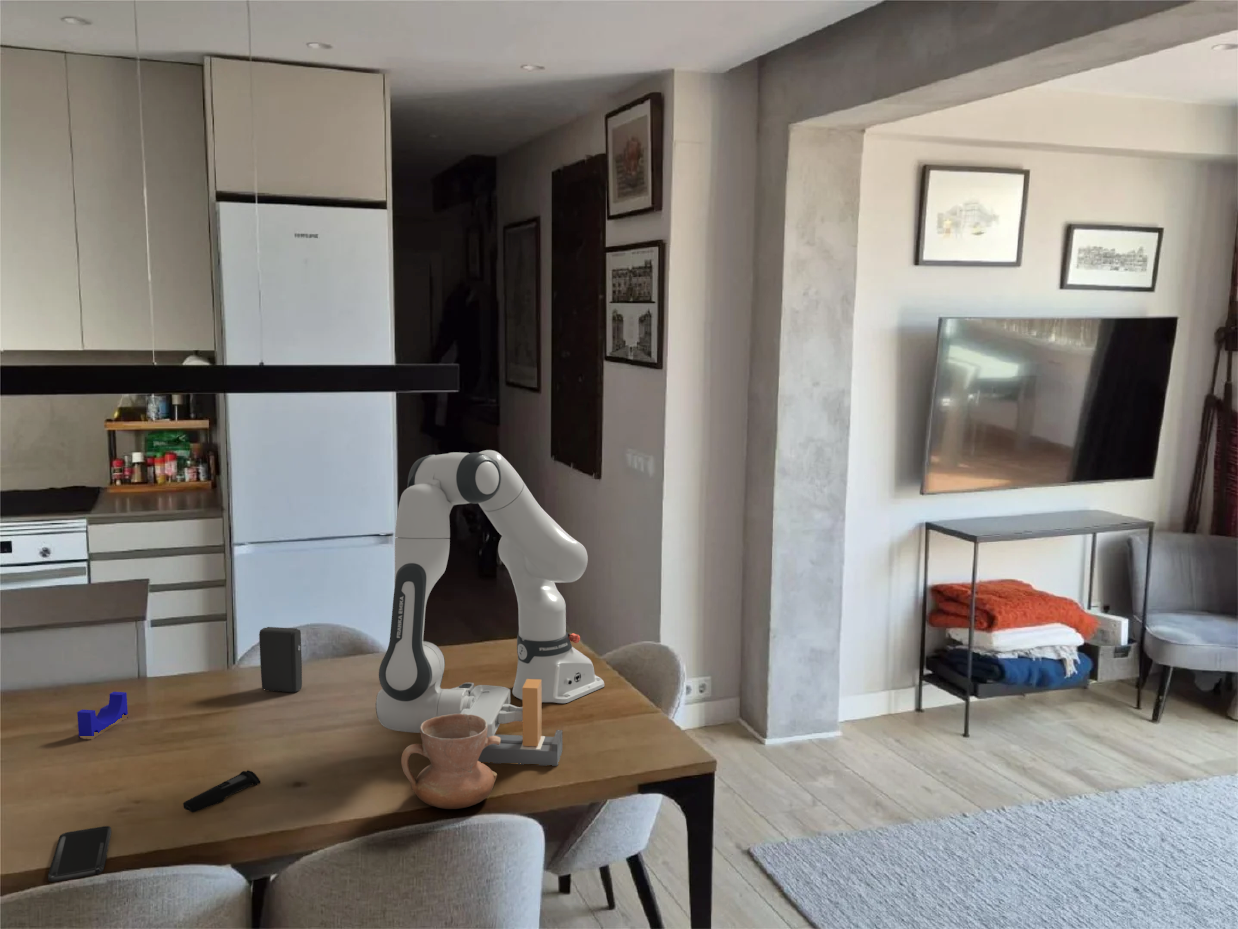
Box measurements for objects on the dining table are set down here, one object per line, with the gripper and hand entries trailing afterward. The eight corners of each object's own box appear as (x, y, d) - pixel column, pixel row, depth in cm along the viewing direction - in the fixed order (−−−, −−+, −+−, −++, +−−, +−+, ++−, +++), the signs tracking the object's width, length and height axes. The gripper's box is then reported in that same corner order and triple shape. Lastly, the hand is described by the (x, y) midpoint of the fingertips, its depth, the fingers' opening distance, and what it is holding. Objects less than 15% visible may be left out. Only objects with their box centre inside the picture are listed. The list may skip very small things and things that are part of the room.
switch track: (458, 761, 201) (457, 740, 200) (466, 747, 208) (466, 726, 207) (557, 766, 199) (557, 744, 199) (562, 751, 206) (562, 730, 206)
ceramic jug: (496, 777, 194) (495, 706, 192) (505, 812, 181) (505, 736, 179) (401, 786, 190) (399, 714, 188) (403, 823, 176) (401, 745, 174)
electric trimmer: (178, 815, 179) (177, 799, 179) (248, 780, 193) (247, 764, 192) (192, 821, 178) (191, 804, 177) (262, 785, 191) (261, 769, 190)
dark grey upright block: (304, 688, 241) (302, 627, 238) (297, 694, 237) (294, 632, 235) (268, 685, 242) (266, 625, 240) (260, 691, 238) (258, 630, 236)
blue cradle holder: (109, 717, 222) (107, 691, 222) (128, 718, 222) (126, 692, 221) (72, 739, 211) (70, 711, 210) (92, 740, 210) (90, 713, 209)
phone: (46, 878, 157) (60, 833, 170) (47, 885, 157) (60, 839, 171) (103, 868, 159) (112, 824, 173) (103, 875, 160) (112, 831, 173)
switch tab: (522, 745, 200) (522, 687, 199) (527, 735, 205) (526, 679, 204) (537, 746, 200) (537, 688, 199) (541, 736, 205) (541, 679, 203)
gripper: (443, 716, 193) (515, 719, 192) (468, 679, 213) (532, 681, 212) (444, 748, 193) (515, 751, 192) (468, 707, 214) (532, 710, 213)
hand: (524, 714), depth 202 cm, fingers closed, pressing on switch tab
